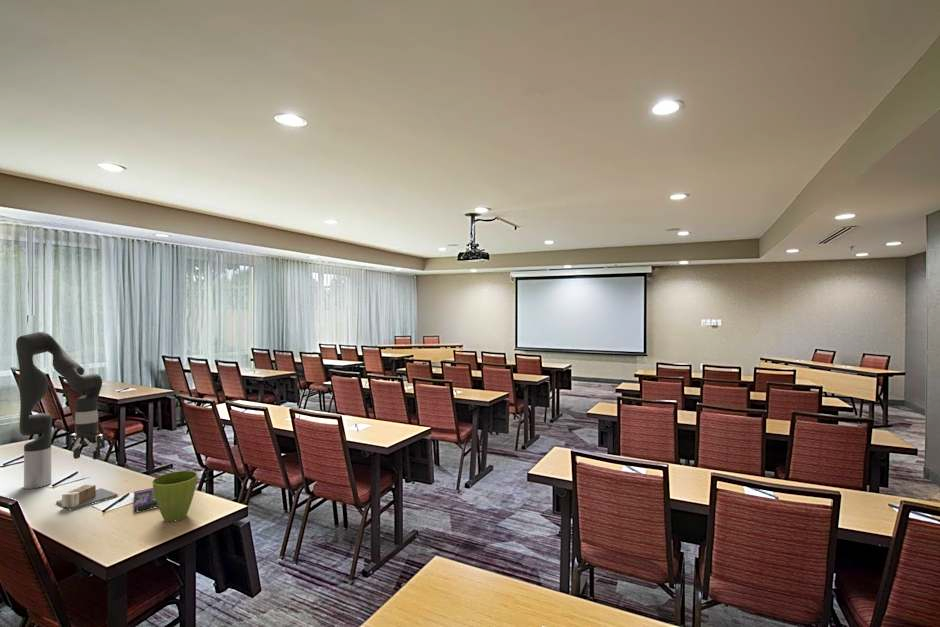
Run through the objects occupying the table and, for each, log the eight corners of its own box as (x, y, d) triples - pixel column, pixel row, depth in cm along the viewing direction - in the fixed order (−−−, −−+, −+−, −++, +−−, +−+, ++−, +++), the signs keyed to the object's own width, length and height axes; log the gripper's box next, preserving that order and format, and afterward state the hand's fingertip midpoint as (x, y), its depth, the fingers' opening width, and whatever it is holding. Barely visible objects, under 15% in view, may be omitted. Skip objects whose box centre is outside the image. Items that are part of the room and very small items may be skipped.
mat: (56, 503, 189) (56, 501, 189) (101, 490, 204) (101, 488, 204) (72, 510, 183) (72, 508, 183) (117, 496, 197) (117, 494, 197)
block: (85, 496, 195) (62, 506, 185) (85, 484, 195) (62, 494, 185) (95, 496, 194) (73, 506, 184) (95, 485, 194) (73, 494, 184)
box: (134, 499, 197) (133, 514, 181) (134, 491, 197) (133, 505, 181) (172, 491, 205) (174, 505, 189) (172, 483, 205) (174, 496, 189)
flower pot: (201, 518, 176) (201, 478, 176) (155, 530, 166) (155, 487, 166) (193, 506, 187) (193, 468, 187) (150, 517, 177) (150, 476, 177)
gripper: (62, 422, 189) (62, 461, 189) (94, 423, 188) (94, 462, 188) (79, 418, 196) (79, 455, 196) (109, 419, 195) (109, 456, 195)
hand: (86, 458), depth 192 cm, fingers open, 8 cm apart
